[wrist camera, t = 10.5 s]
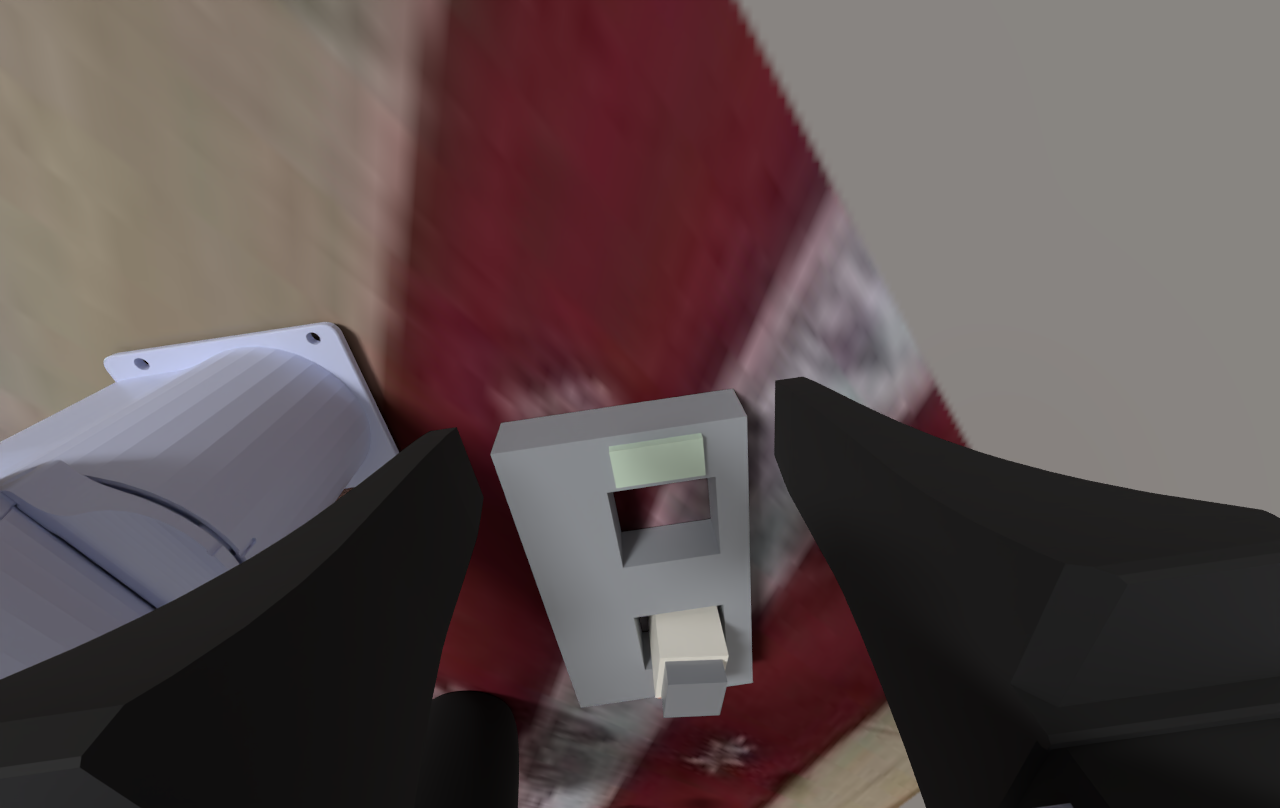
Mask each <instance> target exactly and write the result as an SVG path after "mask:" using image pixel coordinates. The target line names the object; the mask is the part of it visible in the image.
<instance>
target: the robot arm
mask: <svg viewBox="0 0 1280 808" xmlns="http://www.w3.org/2000/svg"><path fill="white" fill-rule="evenodd" d="M311 332H312V333H316V334H317V335H318V336H319V337H320V340H321V341H318V340H316V339H314V338H313V337H312V334H311ZM143 360H145V361H146V362H148V364H149V365H148V364H146V363H145V362H144V361H143ZM104 366H105V368H106V370H107V371H108V372H109V374H110V375H111V376H112V378H113V379H114V380H115V383H113V384H112V385H110V386H108V387H106V388H104V389H102V390H100V391H98V392H96V393H94V394H92V395H90V396H88V397H86V398H84V399H83V400H81V401H79V402H77V403H75V404H73V405H71V406H69V407H67V408H65V409H63V410H61V411H59V412H57V413H55V414H54V415H52V416H50V417H48V418H46V419H44V420H42V421H40V422H38V423H36V424H34V425H32V426H30V427H28V428H26V429H24V430H23V431H21V432H19V433H17V434H15V435H13V436H11V437H9V438H7V439H5V440H3V441H1V442H0V808H414V806H415V799H416V792H417V786H418V779H419V772H420V766H421V759H422V753H423V747H424V741H425V736H426V730H427V725H428V719H429V713H430V708H431V702H432V697H433V692H434V687H435V682H436V678H437V673H438V668H439V663H440V658H441V654H442V649H443V645H444V642H445V638H446V634H447V631H448V627H449V624H450V621H451V618H452V615H453V612H454V609H455V605H456V602H457V599H458V596H459V593H460V590H461V587H462V584H463V581H464V578H465V574H466V571H467V568H468V565H469V562H470V559H471V555H472V552H473V549H474V546H475V542H476V539H477V535H478V529H479V524H480V518H481V511H482V504H483V494H482V492H481V489H480V487H479V484H478V482H477V479H476V476H475V474H474V471H473V469H472V466H471V463H470V461H469V458H468V456H467V453H466V451H465V448H464V445H463V443H462V440H461V438H460V435H459V432H458V430H457V427H456V428H449V429H442V430H435V431H430V432H428V433H426V434H425V435H423V436H421V437H420V438H418V439H417V440H416V441H414V442H413V443H412V444H410V445H409V446H408V447H406V448H405V449H404V450H402V451H401V452H400V453H399V451H398V449H397V447H396V445H395V443H394V440H393V438H392V436H391V434H390V432H389V430H388V428H387V426H386V424H385V421H384V419H383V417H382V415H381V413H380V411H379V409H378V407H377V405H376V402H375V400H374V398H373V396H372V394H371V392H370V390H369V388H368V386H367V383H366V381H365V379H364V377H363V375H362V373H361V371H360V369H359V367H358V364H357V362H356V360H355V358H354V356H353V354H352V352H351V350H350V348H349V345H348V343H347V341H346V339H345V337H344V335H343V333H342V331H341V330H340V328H339V327H338V326H336V325H335V324H333V323H330V322H321V323H314V324H307V325H301V326H294V327H287V328H281V329H274V330H267V331H261V332H254V333H247V334H241V335H234V336H227V337H221V338H214V339H207V340H201V341H194V342H187V343H181V344H174V345H167V346H161V347H154V348H147V349H141V350H134V351H127V352H121V353H116V354H113V355H111V356H108V357H106V358H105V360H104ZM774 455H775V458H776V461H777V463H778V466H779V469H780V471H781V474H782V477H783V479H784V482H785V484H786V487H787V489H788V492H789V494H790V496H791V497H792V499H793V501H794V503H795V505H796V507H797V508H798V510H799V512H800V514H801V516H802V518H803V519H804V521H805V523H806V525H807V527H808V528H809V530H810V532H811V534H812V536H813V537H814V539H815V541H816V543H817V545H818V546H819V548H820V550H821V552H822V554H823V555H824V557H825V559H826V561H827V563H828V564H829V566H830V568H831V570H832V572H833V573H834V575H835V577H836V579H837V581H838V583H839V585H840V587H841V589H842V591H843V594H844V596H845V598H846V601H847V603H848V605H849V608H850V610H851V612H852V615H853V617H854V619H855V622H856V624H857V626H858V629H859V631H860V633H861V636H862V638H863V641H864V643H865V646H866V648H867V651H868V653H869V656H870V658H871V661H872V663H873V666H874V668H875V671H876V673H877V676H878V678H879V680H880V683H881V685H882V688H883V691H884V693H885V696H886V699H887V701H888V704H889V707H890V709H891V712H892V715H893V717H894V720H895V722H896V725H897V728H898V730H899V733H900V736H901V738H902V741H903V744H904V746H905V749H906V752H907V755H908V758H909V760H910V763H911V766H912V769H913V772H914V775H915V777H916V780H917V783H918V786H919V789H920V792H921V794H922V797H923V800H924V803H925V806H926V808H1280V518H1278V517H1277V516H1275V515H1273V514H1271V513H1269V512H1266V511H1264V510H1259V509H1253V508H1246V507H1240V506H1233V505H1227V504H1220V503H1214V502H1207V501H1201V500H1194V499H1187V498H1180V497H1174V496H1167V495H1161V494H1155V493H1149V492H1144V491H1138V490H1133V489H1128V488H1123V487H1118V486H1113V485H1108V484H1103V483H1098V482H1093V481H1088V480H1084V479H1079V478H1075V477H1071V476H1066V475H1062V474H1058V473H1053V472H1049V471H1046V470H1042V469H1038V468H1034V467H1030V466H1027V465H1023V464H1019V463H1015V462H1012V461H1008V460H1004V459H1001V458H998V457H994V456H991V455H987V454H984V453H981V452H978V451H975V450H972V449H969V448H966V447H963V446H960V445H957V444H954V443H952V442H949V441H946V440H943V439H940V438H938V437H935V436H932V435H930V434H927V433H924V432H922V431H920V430H917V429H915V428H912V427H910V426H908V425H905V424H903V423H901V422H898V421H896V420H894V419H891V418H889V417H887V416H885V415H882V414H880V413H878V412H876V411H874V410H872V409H870V408H868V407H866V406H863V405H861V404H859V403H857V402H855V401H853V400H851V399H849V398H847V397H845V396H843V395H841V394H839V393H837V392H835V391H833V390H831V389H829V388H827V387H825V386H823V385H821V384H819V383H817V382H815V381H812V380H810V379H808V378H805V377H797V378H790V379H784V380H777V381H775V448H774ZM352 487H355V488H353V489H352V490H351V491H349V492H348V493H346V494H345V495H344V496H342V497H341V498H340V499H338V500H337V498H338V497H339V496H340V494H341V493H342V491H343V490H344V489H346V488H352ZM336 500H337V501H336Z"/></svg>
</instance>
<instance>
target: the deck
mask: <svg viewBox="0 0 1280 808" xmlns="http://www.w3.org/2000/svg"><path fill="white" fill-rule="evenodd" d="M491 457H492V460H493V463H494V466H495V468H496V471H497V474H498V477H499V480H500V483H501V485H502V488H503V491H504V494H505V497H506V499H507V502H508V505H509V508H510V511H511V513H512V516H513V519H514V522H515V525H516V527H517V530H518V533H519V536H520V539H521V542H522V544H523V547H524V550H525V553H526V556H527V558H528V561H529V564H530V567H531V570H532V572H533V575H534V578H535V581H536V584H537V586H538V589H539V592H540V595H541V598H542V600H543V603H544V606H545V609H546V612H547V615H548V617H549V620H550V623H551V626H552V629H553V631H554V634H555V637H556V640H557V643H558V645H559V648H560V651H561V654H562V657H563V659H564V662H565V665H566V668H567V671H568V674H569V676H570V679H571V682H572V685H573V688H574V690H575V693H576V696H577V699H578V702H579V704H580V707H581V708H583V707H590V706H597V705H604V704H611V703H618V702H624V701H631V700H638V699H645V698H652V697H655V689H654V679H653V668H652V658H651V648H650V637H649V632H642V630H641V625H640V620H639V617H642V616H649V615H656V614H663V613H670V612H676V611H683V610H690V609H697V608H704V607H710V606H717V609H718V614H719V618H720V622H721V626H722V630H723V634H724V638H725V642H726V647H727V651H728V655H729V657H728V661H727V665H726V669H725V673H726V678H727V686H734V685H741V684H748V683H753V681H752V632H751V584H750V535H749V486H748V438H747V415H746V413H745V411H744V409H743V407H742V405H741V403H740V401H739V399H738V398H737V396H736V394H735V392H734V390H733V389H727V390H721V391H714V392H707V393H700V394H694V395H687V396H680V397H674V398H667V399H660V400H653V401H647V402H640V403H633V404H627V405H620V406H613V407H606V408H600V409H593V410H586V411H579V412H573V413H566V414H559V415H553V416H546V417H539V418H532V419H526V420H519V421H512V422H506V423H501V425H500V428H499V431H498V434H497V437H496V440H495V443H494V446H493V448H492V451H491ZM703 478H708V489H709V502H710V516H711V519H707V520H700V521H693V522H686V523H680V524H673V525H666V526H659V527H653V528H646V529H639V530H632V531H626V532H621V528H620V523H619V519H618V514H617V509H616V504H615V499H614V494H613V492H616V491H622V490H629V489H636V488H643V487H649V486H656V485H663V484H670V483H676V482H683V481H690V480H697V479H703ZM659 699H660V698H659Z"/></svg>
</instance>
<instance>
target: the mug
mask: <svg viewBox="0 0 1280 808" xmlns="http://www.w3.org/2000/svg"><path fill="white" fill-rule="evenodd" d="M518 789H519V748H518V734H517V727H516V722H515V719H514V716H513V713H512V711H511V709H510V708H509V707H508V706H507V704H506V703H504V702H503V701H502V700H500V699H498V698H496V697H494V696H491V695H488V694H485V693H480V692H471V691H460V692H452V693H447V694H444V695H441V696H439V697H436V698H435V699H433V700H432V702H431V708H430V713H429V719H428V725H427V730H426V736H425V741H424V747H423V753H422V759H421V766H420V772H419V779H418V786H417V792H416V799H415V806H414V808H518Z"/></svg>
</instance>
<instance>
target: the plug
mask: <svg viewBox="0 0 1280 808" xmlns="http://www.w3.org/2000/svg"><path fill="white" fill-rule="evenodd" d="M648 627H649V637H650V648H651V658H652V668H653V679H654V689H655V698H662V708H663V717H664V718H669V717H690V716H710V715H720V711H721V707H722V703H723V699H724V695H725V691H726V687H727V678H726V673H725V669H726V665H727V661H728V657H729V655H728V651H727V647H726V642H725V638H724V634H723V630H722V626H721V622H720V618H719V614H718V610H717V606H710V607H704V608H697V609H690V610H683V611H676V612H670V613H663V614H656V615H649V616H648Z"/></svg>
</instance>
